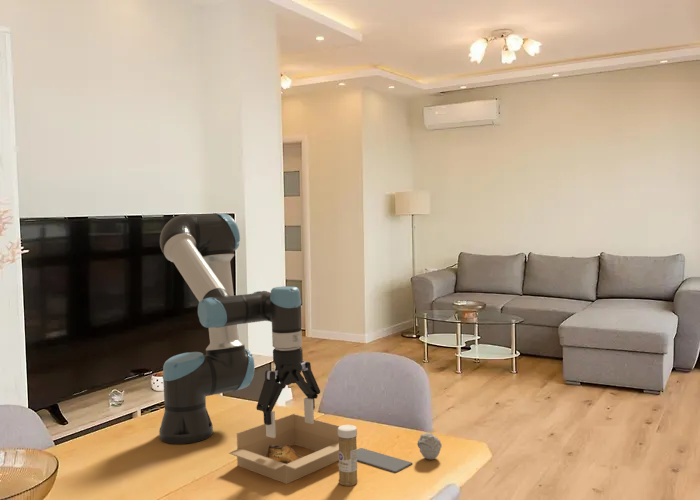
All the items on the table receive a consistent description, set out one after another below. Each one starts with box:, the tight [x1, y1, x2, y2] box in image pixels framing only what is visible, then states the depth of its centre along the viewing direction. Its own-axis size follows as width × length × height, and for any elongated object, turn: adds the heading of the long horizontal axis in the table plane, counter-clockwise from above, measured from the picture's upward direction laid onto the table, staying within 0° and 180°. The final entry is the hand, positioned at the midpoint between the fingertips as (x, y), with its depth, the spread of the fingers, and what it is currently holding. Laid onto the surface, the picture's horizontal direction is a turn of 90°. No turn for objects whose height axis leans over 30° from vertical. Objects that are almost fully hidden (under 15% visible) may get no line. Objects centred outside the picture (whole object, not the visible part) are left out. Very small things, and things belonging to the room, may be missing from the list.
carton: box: [228, 413, 340, 485], centre depth 170 cm, size 21×23×8 cm
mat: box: [357, 447, 413, 474], centre depth 172 cm, size 17×7×1 cm, turn 49°
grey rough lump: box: [416, 432, 442, 461], centre depth 172 cm, size 6×7×7 cm
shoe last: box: [267, 445, 304, 464], centre depth 173 cm, size 4×14×5 cm, turn 61°
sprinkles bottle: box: [338, 424, 359, 487], centre depth 159 cm, size 5×5×14 cm
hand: (290, 429), depth 172 cm, fingers open, 13 cm apart
